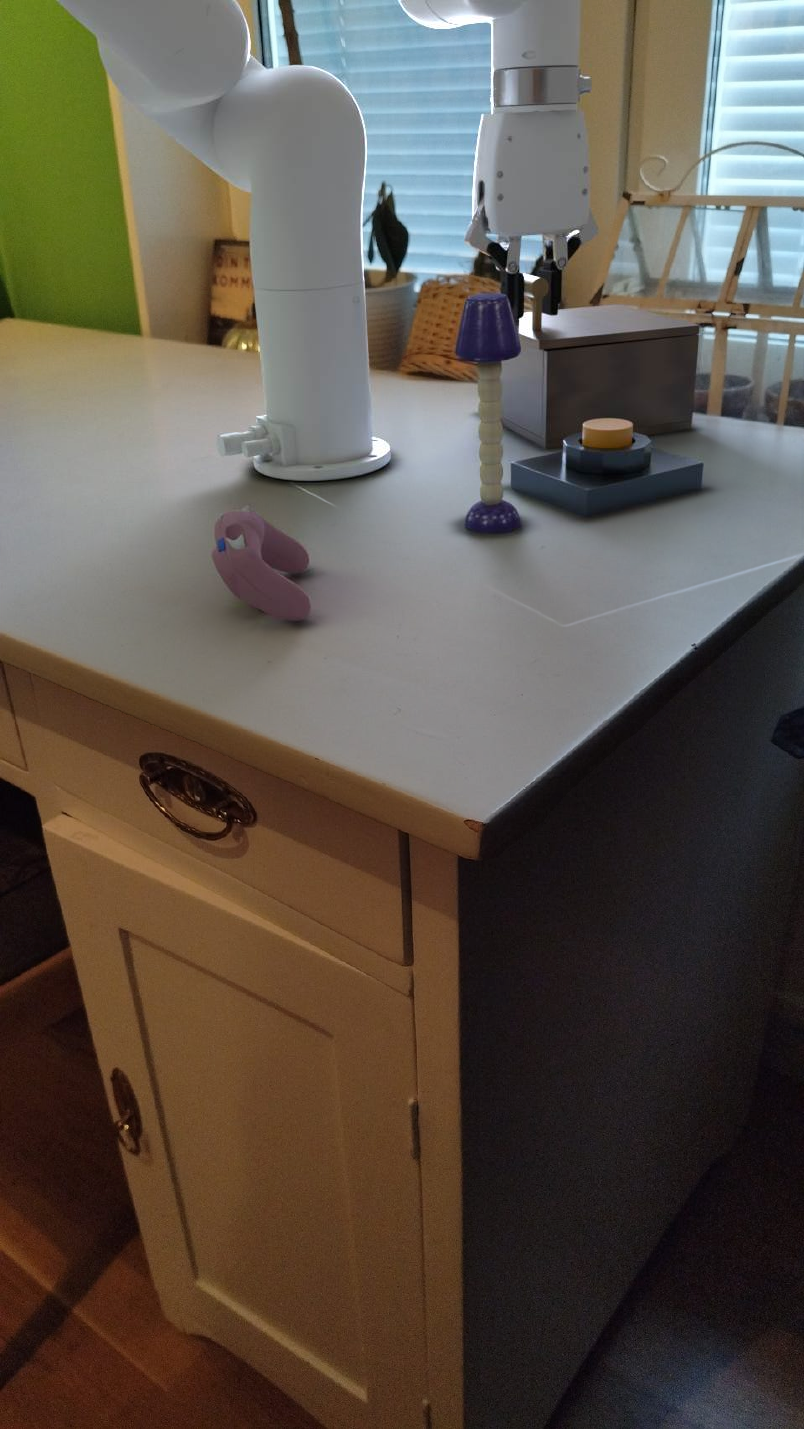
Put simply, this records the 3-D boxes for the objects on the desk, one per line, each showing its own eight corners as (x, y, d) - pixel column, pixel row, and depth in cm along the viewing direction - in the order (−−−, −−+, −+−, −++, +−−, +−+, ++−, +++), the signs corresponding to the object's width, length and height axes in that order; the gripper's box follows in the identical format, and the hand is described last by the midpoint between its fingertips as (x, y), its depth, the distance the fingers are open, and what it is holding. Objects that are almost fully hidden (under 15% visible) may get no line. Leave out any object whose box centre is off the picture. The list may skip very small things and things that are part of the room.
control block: (586, 518, 85) (588, 467, 83) (510, 488, 92) (510, 440, 90) (701, 489, 90) (706, 440, 88) (620, 463, 98) (623, 417, 96)
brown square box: (545, 448, 103) (547, 351, 99) (481, 414, 116) (480, 326, 112) (691, 429, 107) (699, 334, 103) (614, 397, 120) (618, 312, 116)
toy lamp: (516, 537, 81) (517, 299, 74) (454, 536, 82) (449, 300, 74) (523, 517, 86) (525, 289, 78) (463, 515, 87) (460, 290, 79)
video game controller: (259, 592, 78) (204, 510, 75) (315, 560, 77) (261, 476, 74) (255, 650, 69) (191, 560, 66) (317, 615, 69) (256, 523, 65)
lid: (539, 350, 98) (540, 285, 96) (473, 325, 111) (473, 268, 109) (699, 334, 103) (705, 272, 100) (618, 312, 116) (621, 257, 113)
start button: (603, 455, 87) (604, 432, 86) (571, 444, 90) (572, 423, 89) (642, 446, 89) (643, 424, 88) (609, 436, 92) (610, 415, 91)
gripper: (598, 92, 101) (589, 303, 110) (432, 98, 97) (436, 317, 106) (638, 89, 95) (626, 313, 104) (463, 95, 91) (465, 328, 99)
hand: (530, 313), depth 105 cm, fingers closed
